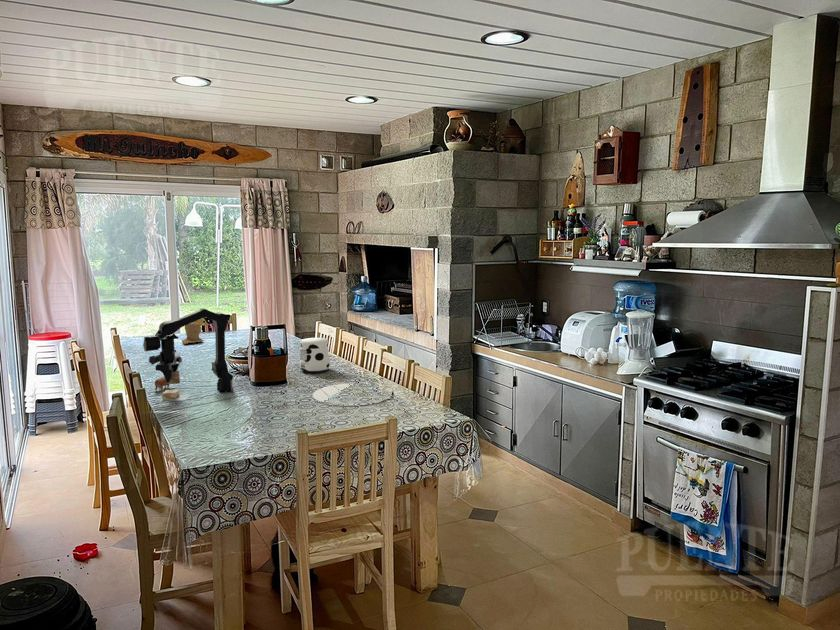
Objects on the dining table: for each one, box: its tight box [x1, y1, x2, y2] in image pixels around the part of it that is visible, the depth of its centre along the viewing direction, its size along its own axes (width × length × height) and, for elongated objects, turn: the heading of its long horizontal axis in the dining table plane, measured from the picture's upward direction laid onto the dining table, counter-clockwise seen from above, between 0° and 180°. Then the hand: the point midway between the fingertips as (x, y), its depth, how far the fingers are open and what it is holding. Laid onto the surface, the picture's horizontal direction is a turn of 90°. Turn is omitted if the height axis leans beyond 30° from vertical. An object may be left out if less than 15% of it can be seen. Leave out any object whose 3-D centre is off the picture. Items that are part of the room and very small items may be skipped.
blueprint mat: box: [158, 394, 191, 402], centre depth 291 cm, size 12×10×1 cm
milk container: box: [299, 337, 331, 373], centre depth 347 cm, size 17×17×18 cm
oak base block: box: [161, 389, 181, 400], centre depth 290 cm, size 6×6×3 cm
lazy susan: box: [312, 381, 392, 402], centre depth 298 cm, size 40×39×3 cm
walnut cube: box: [168, 370, 181, 385], centre depth 290 cm, size 5×5×5 cm
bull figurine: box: [154, 375, 170, 392], centre depth 306 cm, size 4×13×8 cm, turn 164°
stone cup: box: [181, 322, 205, 345], centre depth 432 cm, size 15×12×15 cm
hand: (170, 380), depth 289 cm, fingers closed on walnut cube, 5 cm apart
